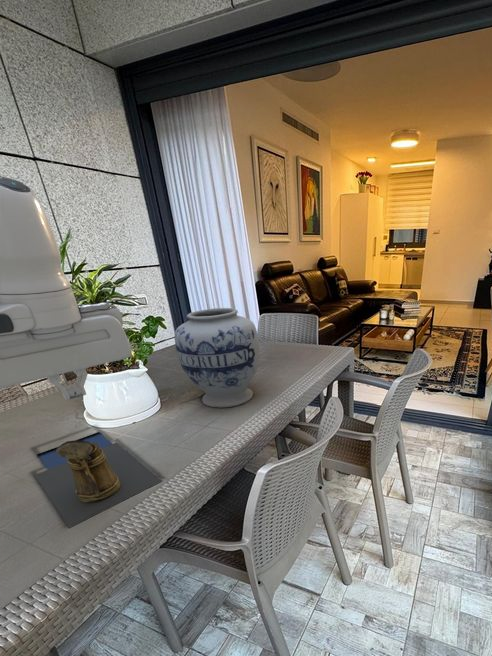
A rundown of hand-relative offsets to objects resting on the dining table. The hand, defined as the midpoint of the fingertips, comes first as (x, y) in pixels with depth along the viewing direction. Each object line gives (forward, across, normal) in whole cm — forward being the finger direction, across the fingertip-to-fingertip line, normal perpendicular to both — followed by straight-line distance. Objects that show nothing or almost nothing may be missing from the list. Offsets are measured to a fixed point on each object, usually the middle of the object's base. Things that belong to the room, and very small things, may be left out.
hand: (75, 396), depth 58 cm
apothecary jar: (+30, -51, -36) cm, 69 cm away
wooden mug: (+30, 0, -13) cm, 32 cm away
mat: (+31, -3, -42) cm, 52 cm away
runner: (+30, -2, -21) cm, 36 cm away
